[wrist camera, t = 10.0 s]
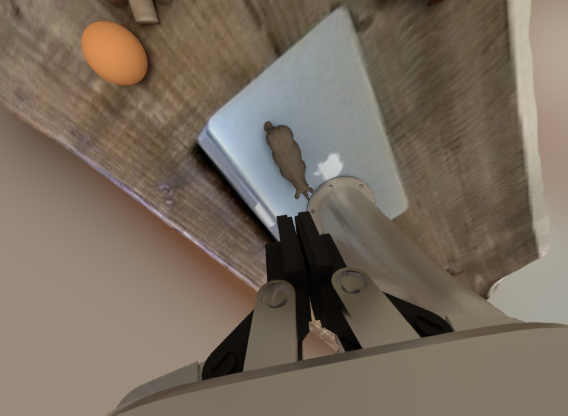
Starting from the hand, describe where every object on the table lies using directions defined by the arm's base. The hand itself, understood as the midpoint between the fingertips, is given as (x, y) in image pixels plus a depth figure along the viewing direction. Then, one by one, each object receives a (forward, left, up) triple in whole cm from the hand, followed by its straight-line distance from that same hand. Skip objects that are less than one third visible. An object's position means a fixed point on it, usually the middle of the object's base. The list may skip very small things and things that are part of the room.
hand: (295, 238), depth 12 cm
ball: (+17, +10, -24) cm, 31 cm away
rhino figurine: (-5, -1, -27) cm, 27 cm away
